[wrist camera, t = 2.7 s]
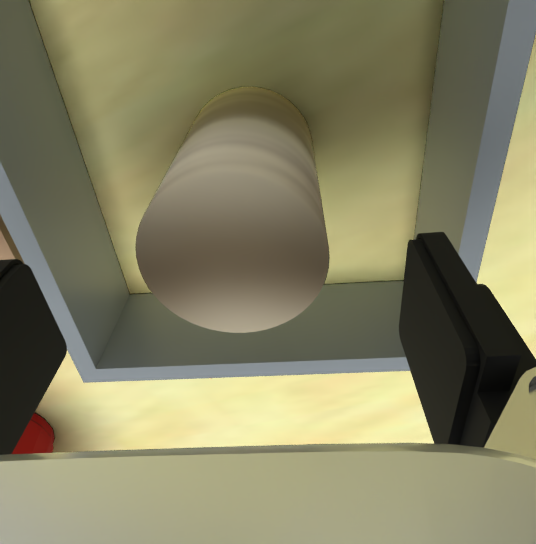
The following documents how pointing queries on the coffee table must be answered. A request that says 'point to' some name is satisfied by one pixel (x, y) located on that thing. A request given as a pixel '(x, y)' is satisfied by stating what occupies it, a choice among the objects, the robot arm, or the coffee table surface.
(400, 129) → the coffee table surface
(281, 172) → the beige grooved cylinder
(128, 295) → the grey square frame
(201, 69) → the coffee table surface
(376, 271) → the coffee table surface
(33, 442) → the plastic cup
